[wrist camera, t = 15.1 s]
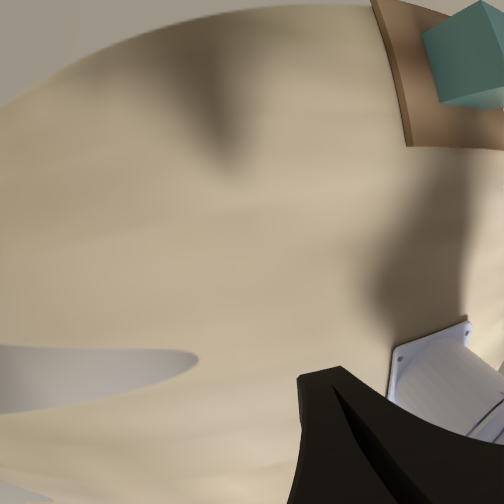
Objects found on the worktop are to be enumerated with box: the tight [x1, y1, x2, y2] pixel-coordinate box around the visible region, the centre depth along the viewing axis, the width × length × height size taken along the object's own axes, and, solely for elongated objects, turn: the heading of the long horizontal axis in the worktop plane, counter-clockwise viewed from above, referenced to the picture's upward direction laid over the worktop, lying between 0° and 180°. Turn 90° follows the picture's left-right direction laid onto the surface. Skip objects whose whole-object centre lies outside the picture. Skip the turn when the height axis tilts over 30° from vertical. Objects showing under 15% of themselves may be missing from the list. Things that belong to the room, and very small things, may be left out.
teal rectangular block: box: [421, 0, 504, 111], centre depth 11 cm, size 5×5×7 cm
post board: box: [370, 0, 504, 151], centre depth 12 cm, size 11×11×5 cm
